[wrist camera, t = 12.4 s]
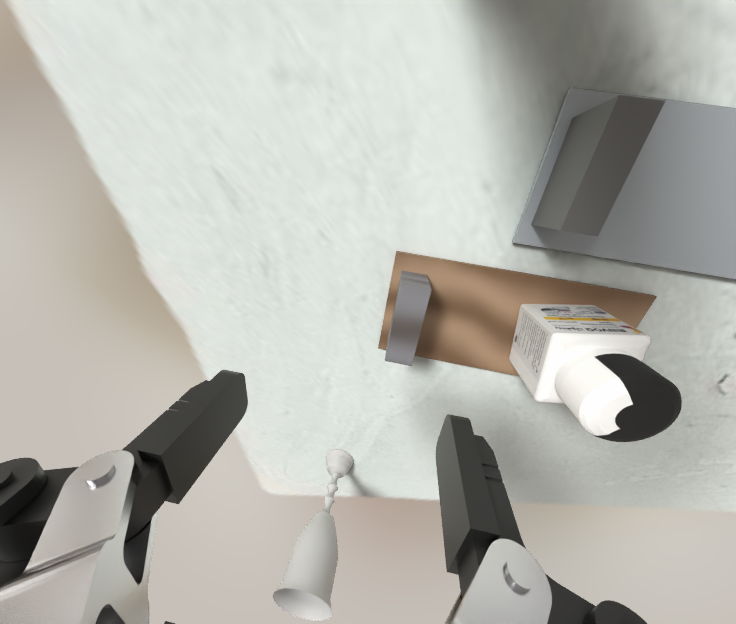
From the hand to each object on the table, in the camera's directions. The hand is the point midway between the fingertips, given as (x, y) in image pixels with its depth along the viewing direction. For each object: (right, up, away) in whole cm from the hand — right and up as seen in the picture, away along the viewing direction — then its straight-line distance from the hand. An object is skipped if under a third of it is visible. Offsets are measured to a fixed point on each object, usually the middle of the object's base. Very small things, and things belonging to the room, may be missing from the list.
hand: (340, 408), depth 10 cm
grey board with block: (+31, +15, +14) cm, 37 cm away
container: (+23, +1, +21) cm, 31 cm away
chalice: (-4, -22, +36) cm, 42 cm away
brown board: (+17, +2, +21) cm, 28 cm away
